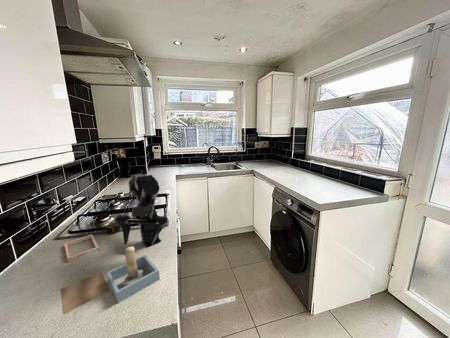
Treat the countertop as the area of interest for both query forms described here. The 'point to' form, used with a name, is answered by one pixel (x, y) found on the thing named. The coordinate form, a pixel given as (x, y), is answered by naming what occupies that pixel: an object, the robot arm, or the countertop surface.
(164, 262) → the countertop surface
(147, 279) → the box
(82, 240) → the pink rectangular frame
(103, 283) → the far plate
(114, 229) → the tape measure
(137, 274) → the rubber stamp
